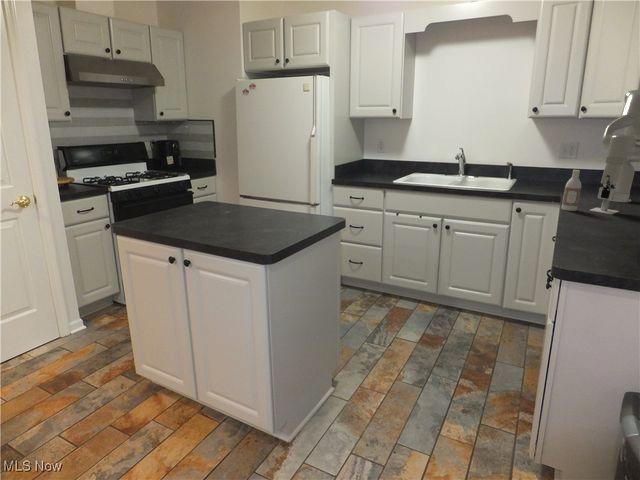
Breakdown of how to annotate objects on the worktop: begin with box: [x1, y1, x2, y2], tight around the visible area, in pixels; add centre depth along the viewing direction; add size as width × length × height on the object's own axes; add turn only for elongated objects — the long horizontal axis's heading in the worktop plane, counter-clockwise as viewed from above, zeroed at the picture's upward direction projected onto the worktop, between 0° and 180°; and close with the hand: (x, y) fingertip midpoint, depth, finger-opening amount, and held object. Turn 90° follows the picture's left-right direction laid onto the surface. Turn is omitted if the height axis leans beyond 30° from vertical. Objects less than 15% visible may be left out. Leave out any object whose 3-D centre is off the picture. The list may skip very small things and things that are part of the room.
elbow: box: [597, 186, 631, 203], centre depth 212 cm, size 12×6×6 cm, turn 40°
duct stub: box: [589, 199, 620, 215], centre depth 216 cm, size 10×10×6 cm
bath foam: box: [561, 169, 582, 212], centre depth 215 cm, size 7×7×20 cm
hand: (606, 197), depth 214 cm, fingers closed on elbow, 6 cm apart
